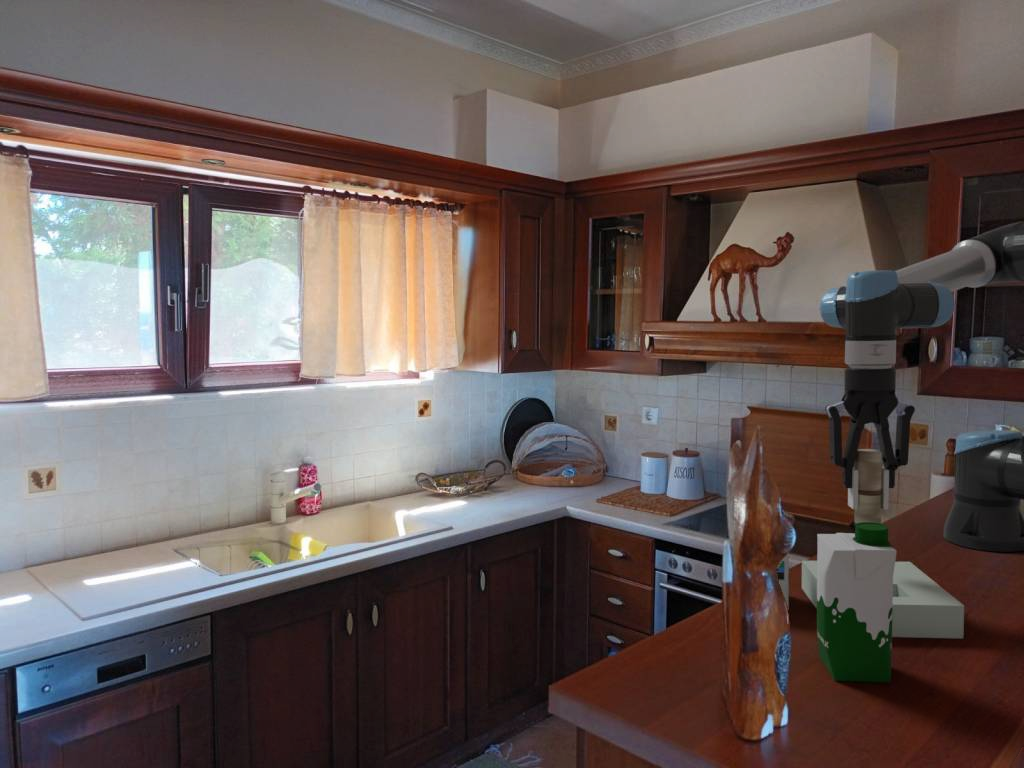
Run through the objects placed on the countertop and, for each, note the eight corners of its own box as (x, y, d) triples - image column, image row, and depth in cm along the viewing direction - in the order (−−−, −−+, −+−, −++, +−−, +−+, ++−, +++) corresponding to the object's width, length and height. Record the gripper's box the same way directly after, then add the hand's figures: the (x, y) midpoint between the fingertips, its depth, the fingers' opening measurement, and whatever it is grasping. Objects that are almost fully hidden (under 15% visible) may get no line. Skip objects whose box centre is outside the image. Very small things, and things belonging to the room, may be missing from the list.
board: (909, 589, 132) (909, 561, 131) (963, 638, 112) (964, 605, 111) (801, 588, 134) (801, 560, 133) (836, 635, 114) (836, 603, 114)
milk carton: (900, 686, 98) (903, 535, 97) (828, 684, 99) (830, 535, 98) (875, 655, 107) (877, 517, 105) (809, 654, 108) (810, 517, 106)
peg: (876, 519, 127) (877, 448, 126) (885, 526, 123) (886, 453, 122) (850, 519, 128) (851, 449, 127) (858, 525, 124) (859, 453, 123)
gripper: (821, 369, 121) (820, 512, 123) (935, 367, 118) (932, 513, 121) (809, 365, 128) (808, 501, 130) (916, 364, 126) (913, 502, 128)
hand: (867, 507), depth 125 cm, fingers closed on peg, 4 cm apart
